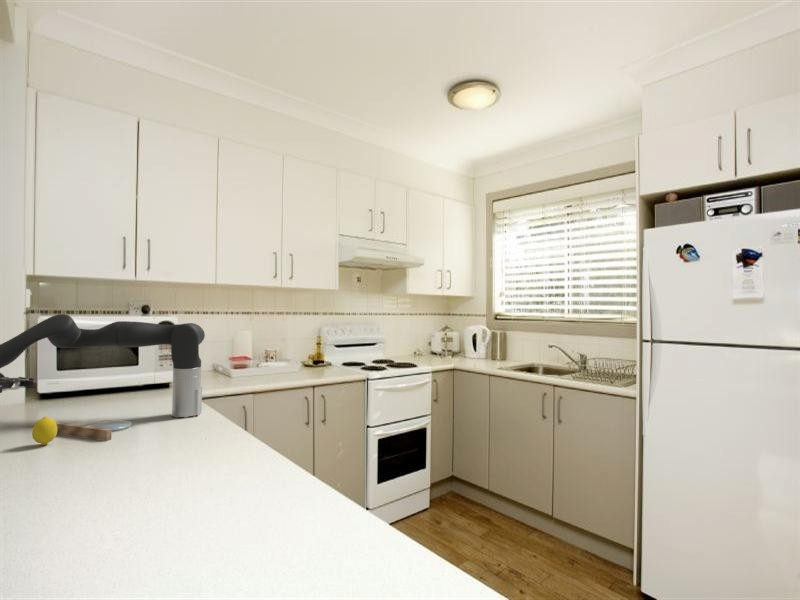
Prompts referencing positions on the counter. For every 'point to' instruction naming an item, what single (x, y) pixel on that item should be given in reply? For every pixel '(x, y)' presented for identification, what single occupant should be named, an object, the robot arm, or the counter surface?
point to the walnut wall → (84, 431)
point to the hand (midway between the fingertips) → (18, 387)
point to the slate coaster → (113, 425)
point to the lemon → (44, 430)
